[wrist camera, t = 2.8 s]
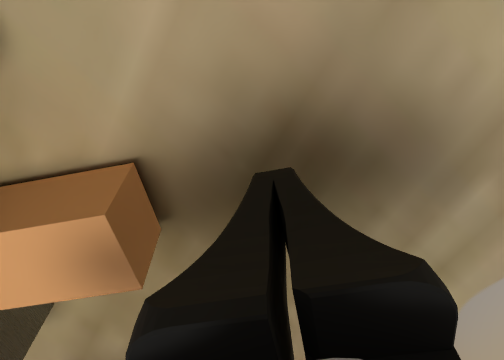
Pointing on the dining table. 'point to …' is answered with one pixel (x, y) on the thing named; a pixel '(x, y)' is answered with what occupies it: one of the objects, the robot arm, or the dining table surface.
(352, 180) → the dining table surface
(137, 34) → the dining table surface
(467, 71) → the dining table surface
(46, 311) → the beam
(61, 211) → the shaft
